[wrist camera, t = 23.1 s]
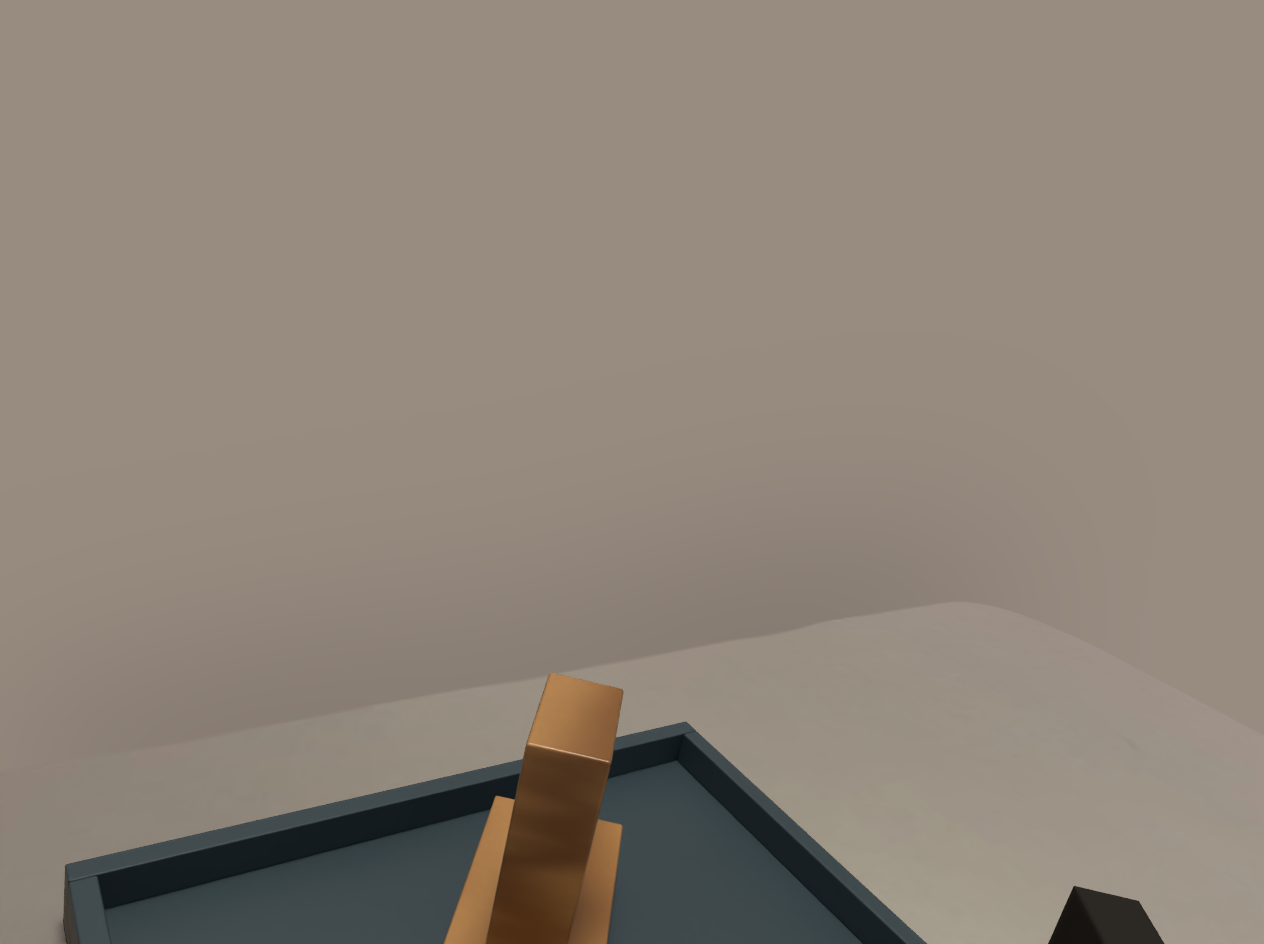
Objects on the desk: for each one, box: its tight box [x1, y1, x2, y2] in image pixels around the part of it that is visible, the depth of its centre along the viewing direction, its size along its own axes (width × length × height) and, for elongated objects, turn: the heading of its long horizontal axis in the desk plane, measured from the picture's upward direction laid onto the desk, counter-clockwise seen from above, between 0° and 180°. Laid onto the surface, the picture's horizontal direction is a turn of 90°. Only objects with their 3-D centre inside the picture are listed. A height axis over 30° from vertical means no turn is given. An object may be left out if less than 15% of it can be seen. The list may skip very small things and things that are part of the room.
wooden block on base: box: [443, 673, 623, 944], centre depth 29 cm, size 5×12×10 cm, turn 176°
